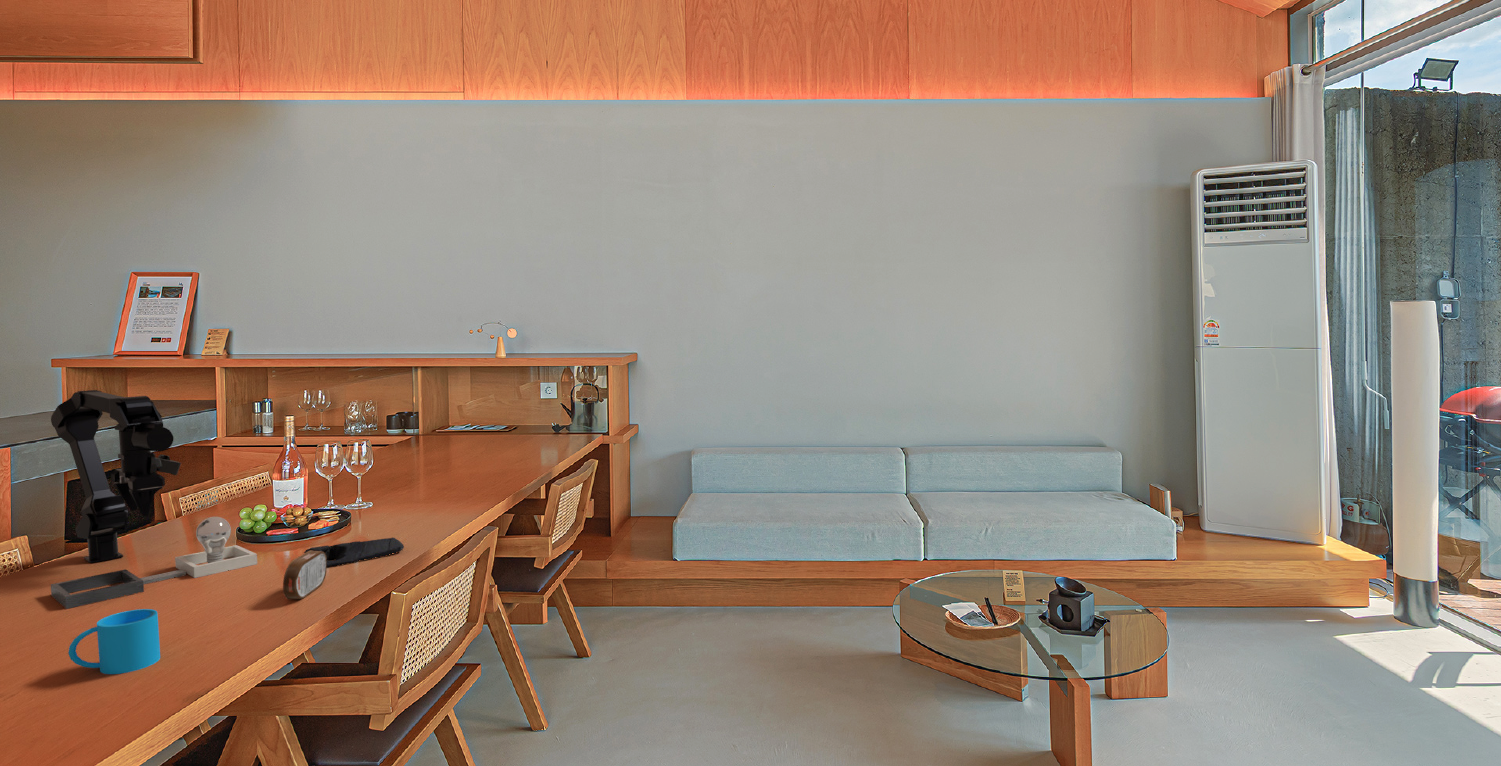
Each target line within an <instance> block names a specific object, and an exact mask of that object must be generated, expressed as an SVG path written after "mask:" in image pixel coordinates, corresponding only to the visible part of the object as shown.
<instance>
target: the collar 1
mask: <svg viewBox="0 0 1501 766" xmlns="http://www.w3.org/2000/svg"><path fill="white" fill-rule="evenodd" d="M140 578H141V577H139V576H137V575H135V574H134V573H133V572H131V571H129V570H127V569H126V568H125V569H121V570H120V569H119V570H116V571H115V570H114V571H111V572H107V573H106V572H105V573H100V574H95V575H90V576H85V577H81V578H76V579H75V578H74V579H71V580H66V581H61V582H55V583H51V584H50V596H51V597H52V598H54V600H56V601H57V603H59V604H60V605H61V606H63V607H64V608H65V610H67V609H72V608H76V607H77V608H78V607H81V606H86V605H90V604H94V602H95V603H99V602H104V601H107V599H109V600H112V599H118V598H121V596H122V597H125V596H124V595H127V596H131V595H135V594H134V593H136V594H139V593H138V592H140V593H144V592H145V588H144V585H145V584H143V580H142V579H140ZM119 583H120V584H119ZM109 584H110V585H109ZM81 591H82V592H81ZM117 597H118V598H117Z"/></svg>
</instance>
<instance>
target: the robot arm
mask: <svg viewBox="0 0 1501 766" xmlns="http://www.w3.org/2000/svg"><path fill="white" fill-rule="evenodd" d="M104 413H107V414H109V417H110V418H111V419H113V420H115V422H117V423H118V424H116V425H115V426H114V430H115V431H118V439H119V441H118V442H119V451H120V453H117V458H118V459H119V460H120V467H121V468H116V469H114V470H113V471H111V473H110V481H111V482H113V483H112V484H113V486H114V487H115V488H116V490H117V492H119V494H115V493H113V492H112V490H111V488H110V485H109V482H108V478H107V476H106V473H105V469H104V465H103V463H102V460H101V456H100V454H99V450H98V446H97V443H96V439H95V436H96V435H97V432H98V429H99V427H100V426H99V425H100V424H99V420H100V419H101V418H102V416H103V414H104ZM162 418H163V416H162V415H161V413H160V411H159V410H158V409H157V407H156V405H155V403H154V402H153V401H152V400H151V398H150V397H149V396H147V395H139V396H138V395H137V396H120V395H117V394H112V393H107V392H102V391H101V390H98V389H92V390H91V389H90V390H78V391H76V392H75V391H74V393H73V394H72V395H71V397H69V398H68V399H67V400H65V401H63V402H62V403H60V404H58V405H57V406H56V408H55V410H54V411H53V413H52V415H51V416H50V423H51V425H52V427H53V428H54V430H55V432H56V434H57V436H58V437H59V438H60V439H61V440H63V441H64V442H66V443H67V444H68V445H69V447H70V451H71V453H72V456H73V460H74V463H75V467H76V470H77V473H78V475H79V479H80V482H81V487H82V488H83V489H82V490H83V492H84V495H85V501H84V503H83V505H82V508H81V511H80V513H81V518H80V520H79V521H78V524H77V525H76V527H75V534H76V537H77V538H79V539H84V540H85V539H86V540H87V549H88V555H87V556H84V557H83V559H84V560H85V561H87V562H89V564H93V563H98V562H99V563H100V562H105V561H109V560H115V559H121V558H123V557H124V554H122V552H119V545H118V543H119V541H118V533H120V532H126V531H127V528H128V523H129V518H130V514H129V510H130V511H131V512H134V511H137V510H138V511H139V513H140V514H141V516H142V517H149V515H150V511H151V508H152V503H153V501H154V497H155V494H156V493H157V492H158V491H160V490H162V489H163V488H164V486H166V479H165V477H164V476H163V475H161V474H159V473H166V474H170V475H173V476H177V475H178V473H179V470H180V467H181V465H182V462H179V461H178V460H177V461H176V460H171V458H170V456H169V455H167V454H159V455H158V456H157V457H156V454H155V452H164V451H167V450H168V449H170V448H171V446H172V445H173V442H174V435H173V433H172V431H171V430H170V429H168V428H166V427H164V422H163V419H162ZM126 505H127V506H128V508H129V510H128V508H127V506H126Z"/></svg>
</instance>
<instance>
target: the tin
mask: <svg viewBox="0 0 1501 766" xmlns="http://www.w3.org/2000/svg"><path fill="white" fill-rule="evenodd" d="M326 566H327V557H326V554H325V553H324V552H322V551H313V550H310V551H308V552H306V553H304V552H303V554H301V555H300V556H297V557H295V558H294V559H293V560H291V561H290V563H289V564H288V566H287V567H286V569H285V572H284V575H283V581H282V590H283V591H282V592H283V595H284V597H285V598H286V599H287V600H302V599H305V598H306V597H308V596H309V595H310V594H312V593H313V592H315V591H316V590H317V589H319V588H320V587H321V586H322V585H323V583H324V581H325V579H326V577H327V567H326Z"/></svg>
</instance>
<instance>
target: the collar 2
mask: <svg viewBox="0 0 1501 766" xmlns="http://www.w3.org/2000/svg"><path fill="white" fill-rule="evenodd" d="M222 553H223V560H221V561H216V562H212V563H208V562H207V557H206V556H207V554H206V553H205V550H204V551H201V552H196V553H190V554H185V555H180V556H175V557H174V562H175V563H174V564H175V568H176V569H177V570H181V569H182V570H183V571H185V572H186V575H189V576H190V577H192V578H194V579H197V578H201V577H205V576H211V575H215V574H219V573H224V572H228V570H229V571H232V570H237V569H242V568H246V567H250V566H255V565H258V554H257V553H256V552H253V551H250V550H249V549H247V548H244V547H242V546H239V545H237V544H235V545H230V546H225V547H224V551H223V552H222Z"/></svg>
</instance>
